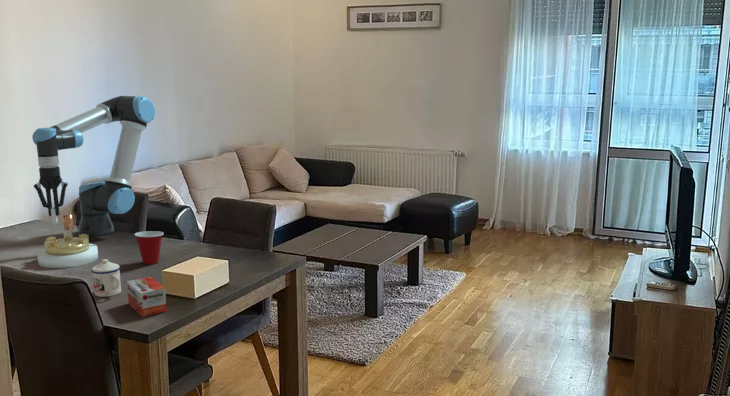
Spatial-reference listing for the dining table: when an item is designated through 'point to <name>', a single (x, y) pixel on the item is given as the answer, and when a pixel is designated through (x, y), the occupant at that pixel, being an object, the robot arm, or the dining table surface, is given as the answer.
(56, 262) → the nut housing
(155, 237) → the plastic cup
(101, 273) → the teacup with lid
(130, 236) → the dining table surface
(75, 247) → the ring nut
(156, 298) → the medicine box
